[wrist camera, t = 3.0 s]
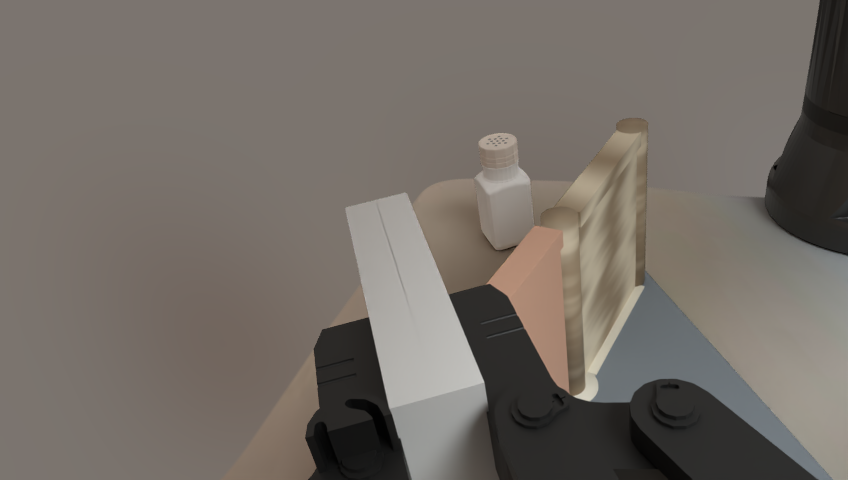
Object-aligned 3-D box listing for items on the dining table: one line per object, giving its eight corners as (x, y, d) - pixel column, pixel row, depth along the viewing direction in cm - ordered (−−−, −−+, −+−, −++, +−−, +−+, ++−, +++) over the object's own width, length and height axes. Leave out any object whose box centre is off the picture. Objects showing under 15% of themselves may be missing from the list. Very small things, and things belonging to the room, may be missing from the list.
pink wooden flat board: (547, 390, 42) (532, 225, 35) (574, 399, 41) (564, 230, 34) (421, 598, 32) (367, 424, 25) (452, 616, 31) (404, 440, 24)
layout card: (642, 272, 51) (642, 266, 51) (854, 509, 33) (855, 503, 33) (358, 348, 50) (357, 343, 49) (414, 646, 31) (412, 640, 31)
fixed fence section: (578, 401, 41) (569, 228, 34) (549, 391, 42) (534, 222, 35) (648, 275, 50) (652, 119, 43) (622, 270, 51) (622, 116, 44)
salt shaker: (495, 254, 57) (483, 156, 52) (479, 232, 60) (466, 138, 55) (538, 241, 57) (529, 143, 52) (520, 220, 61) (510, 126, 56)
